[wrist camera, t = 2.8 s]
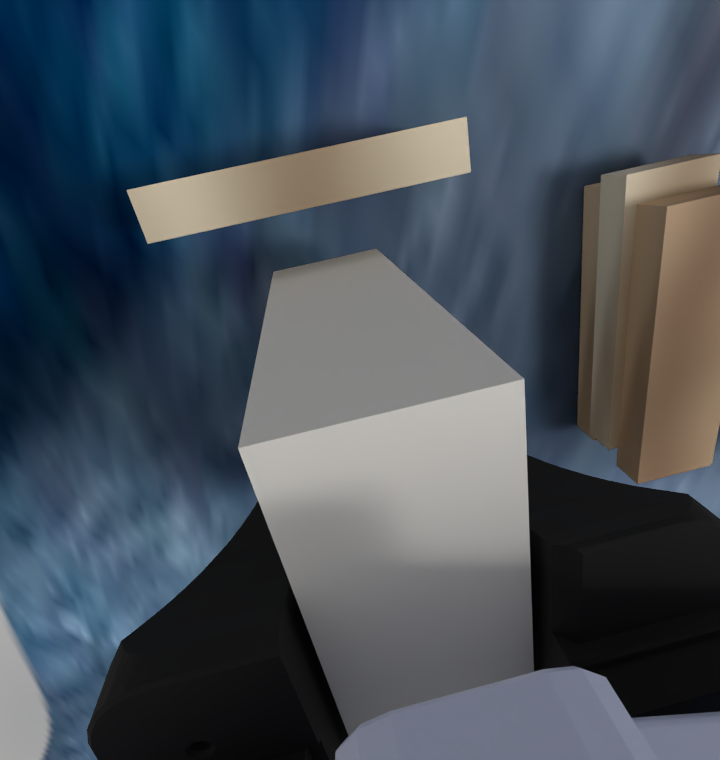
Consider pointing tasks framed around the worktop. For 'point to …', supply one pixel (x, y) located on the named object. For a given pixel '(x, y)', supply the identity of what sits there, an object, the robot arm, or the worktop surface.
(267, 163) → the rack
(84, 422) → the worktop surface
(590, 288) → the offcuts
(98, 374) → the worktop surface
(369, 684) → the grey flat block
